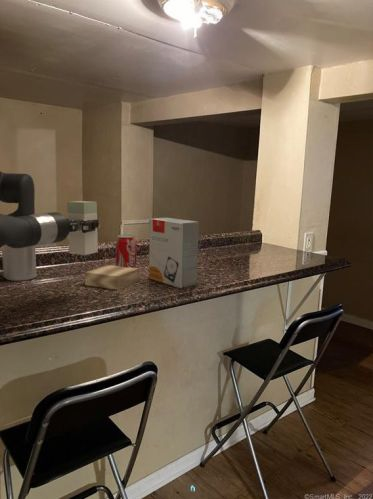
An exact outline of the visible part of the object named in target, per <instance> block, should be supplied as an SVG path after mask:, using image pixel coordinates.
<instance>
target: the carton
mask: <svg viewBox="0 0 373 499" xmlns="http://www.w3.org/2000/svg"><path fill="white" fill-rule="evenodd" d="M66 203H67V204H66V205H67V206H66V207H67V208H66V209H67V210H66V211H67V218H68V219H83V220H84V221H86V220H98V201H84V200H73V201H67V202H66ZM78 225H79V221H78ZM78 230H79V229H78ZM67 238H68V239H67V240H68V254H73V255H80V256H87V255H91V254H95V253H99V251H98V250H99V247H98V246H99V245H98V243H99V241H98V240H99V239H98V228H95V231H91V232H87V233H82V232H80V233H74V234H68V235H67Z"/></svg>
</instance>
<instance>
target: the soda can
mask: <svg viewBox="0 0 373 499" xmlns="http://www.w3.org/2000/svg"><path fill="white" fill-rule="evenodd" d="M137 243H138V242H137V239H136V235H133V234H118V235H117V237H116V240H115V266H120V267H129V268H137V264H138V263H137V256H138V249H137V248H138V246H137V245H138V244H137ZM137 269H138V268H137Z"/></svg>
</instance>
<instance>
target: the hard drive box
mask: <svg viewBox="0 0 373 499" xmlns="http://www.w3.org/2000/svg"><path fill="white" fill-rule="evenodd" d="M148 220H149V221H148V224H149V225H148V226H149V227H148V228H149V230H148V233H149V234H148V235H149V238H148V247H149V248H148V254H149V255H148V258H149V259H148V261H149V262H148V273H149V274H148V276H149V277H148V279H149V280H153V281H155V282H160V283H162V284H166V285H169V286H171V285H172V286H171V287H175V288H177V289H178V288H180V289H183V287H184V288H188V287H192V286H196V285H198V271H199V270H198V269H199V267H198V265H199V235H200V234H199V233H200V232H199V230H200V222H199V221H195V220H188V219H180V218H172V217H155V218H153V217H152V218H149V219H148Z"/></svg>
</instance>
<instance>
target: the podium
mask: <svg viewBox="0 0 373 499" xmlns="http://www.w3.org/2000/svg"><path fill="white" fill-rule="evenodd" d="M138 282H140V268H129V267H120V266H116V265H113V264H107V265H104V266H100V267H97V268H94V269H91V270H87V271H84V286H89V287H97V288H103V289H110V290H116V291H118V290H121V289H123V288H127V287H128V286H131V285H133V284H135V283H138Z"/></svg>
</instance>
